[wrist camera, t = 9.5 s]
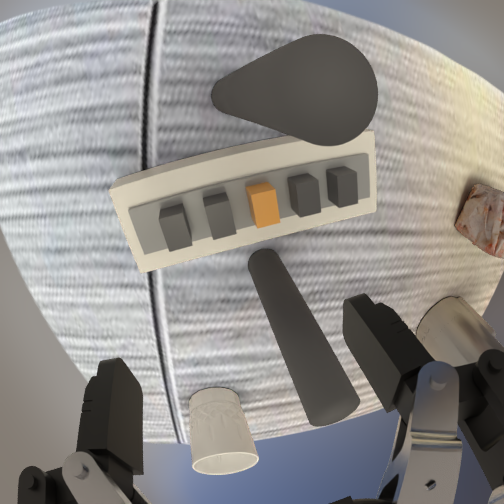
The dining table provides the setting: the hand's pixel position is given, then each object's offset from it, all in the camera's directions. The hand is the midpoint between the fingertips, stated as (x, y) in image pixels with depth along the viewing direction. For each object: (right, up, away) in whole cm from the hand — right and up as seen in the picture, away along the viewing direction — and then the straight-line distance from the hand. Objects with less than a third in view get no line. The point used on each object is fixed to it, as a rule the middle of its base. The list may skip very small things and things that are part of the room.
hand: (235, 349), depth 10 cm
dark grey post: (-1, +15, +10) cm, 18 cm away
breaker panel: (0, +9, +14) cm, 16 cm away
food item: (+32, +9, +22) cm, 40 cm away
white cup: (-5, -17, +27) cm, 32 cm away
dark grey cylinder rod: (+2, +2, +18) cm, 18 cm away
